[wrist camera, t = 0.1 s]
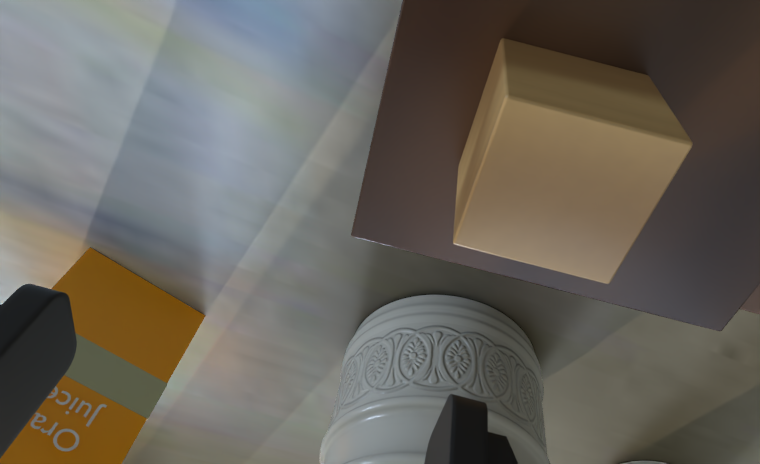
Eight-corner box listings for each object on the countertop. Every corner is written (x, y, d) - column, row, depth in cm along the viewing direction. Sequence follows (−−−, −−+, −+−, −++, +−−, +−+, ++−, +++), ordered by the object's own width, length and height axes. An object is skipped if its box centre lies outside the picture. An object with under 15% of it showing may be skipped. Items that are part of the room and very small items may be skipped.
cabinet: (818, -66, 22) (998, -8, 14) (659, 199, 30) (721, 332, 22) (453, -161, 22) (436, -153, 14) (385, 129, 30) (350, 236, 22)
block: (501, 36, 17) (505, 94, 13) (650, 74, 17) (695, 143, 13) (457, 166, 19) (451, 245, 16) (586, 200, 19) (609, 286, 16)
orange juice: (164, 368, 44) (-23, 685, 28) (55, 308, 42) (-216, 614, 25) (207, 314, 40) (18, 650, 23) (89, 244, 37) (-209, 562, 21)
